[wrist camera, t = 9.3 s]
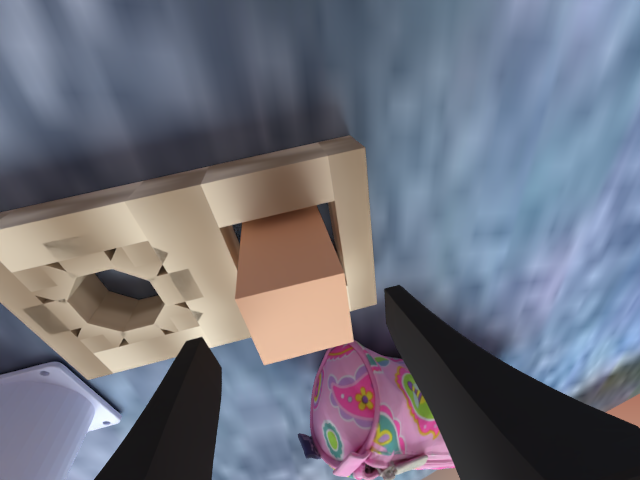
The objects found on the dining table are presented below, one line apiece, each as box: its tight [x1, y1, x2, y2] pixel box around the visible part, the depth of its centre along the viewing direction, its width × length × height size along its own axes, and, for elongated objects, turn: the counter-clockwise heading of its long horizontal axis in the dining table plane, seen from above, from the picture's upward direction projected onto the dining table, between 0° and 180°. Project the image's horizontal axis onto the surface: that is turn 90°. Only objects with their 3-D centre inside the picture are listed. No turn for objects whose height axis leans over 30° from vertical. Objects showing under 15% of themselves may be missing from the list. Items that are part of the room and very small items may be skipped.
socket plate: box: [0, 135, 377, 380], centre depth 16 cm, size 18×10×2 cm, turn 99°
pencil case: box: [298, 340, 455, 480], centre depth 24 cm, size 21×9×9 cm, turn 60°
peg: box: [235, 205, 354, 365], centre depth 14 cm, size 4×4×7 cm
